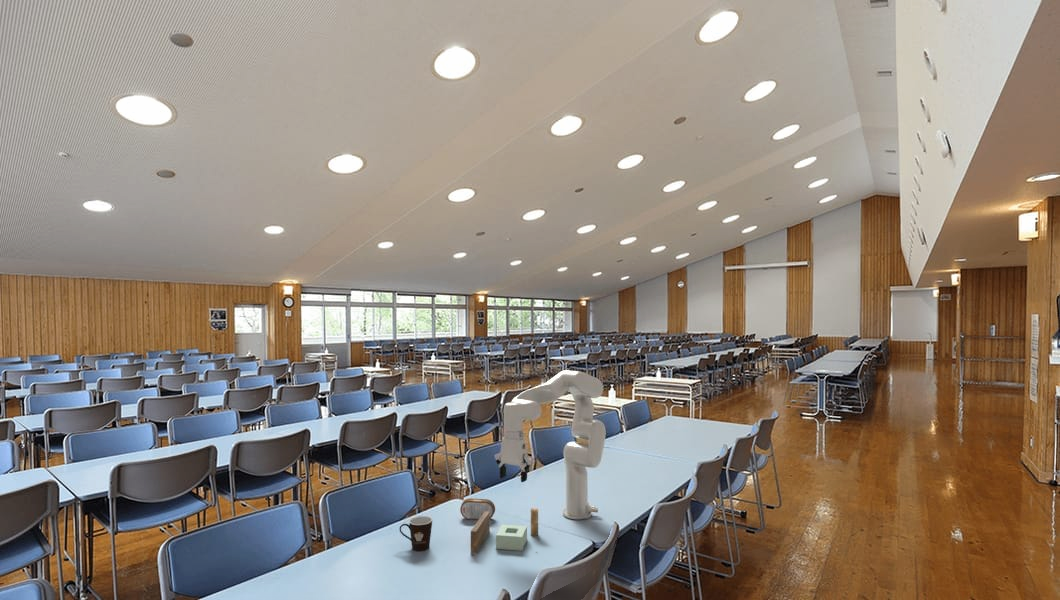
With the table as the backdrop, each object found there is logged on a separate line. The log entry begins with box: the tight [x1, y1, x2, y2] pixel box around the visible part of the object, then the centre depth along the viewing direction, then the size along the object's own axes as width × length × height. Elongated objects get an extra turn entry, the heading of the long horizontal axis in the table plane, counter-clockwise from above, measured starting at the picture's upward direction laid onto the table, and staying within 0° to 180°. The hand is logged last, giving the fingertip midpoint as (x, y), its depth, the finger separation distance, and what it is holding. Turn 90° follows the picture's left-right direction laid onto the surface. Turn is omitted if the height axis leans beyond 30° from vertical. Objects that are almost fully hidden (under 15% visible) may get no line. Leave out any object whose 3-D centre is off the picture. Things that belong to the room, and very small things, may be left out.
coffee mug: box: [399, 515, 433, 552], centre depth 192 cm, size 12×9×10 cm
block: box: [495, 524, 528, 551], centre depth 194 cm, size 10×10×5 cm
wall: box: [470, 511, 491, 555], centre depth 196 cm, size 2×20×8 cm, turn 170°
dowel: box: [530, 507, 539, 537], centre depth 203 cm, size 3×3×10 cm
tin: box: [459, 498, 496, 521], centre depth 219 cm, size 15×3×8 cm, turn 84°
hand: (513, 479), depth 197 cm, fingers open, 9 cm apart
